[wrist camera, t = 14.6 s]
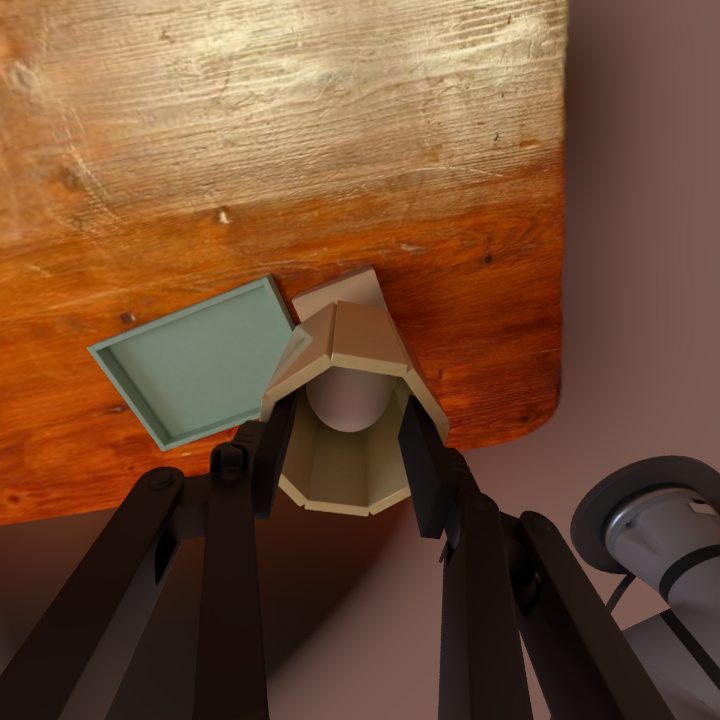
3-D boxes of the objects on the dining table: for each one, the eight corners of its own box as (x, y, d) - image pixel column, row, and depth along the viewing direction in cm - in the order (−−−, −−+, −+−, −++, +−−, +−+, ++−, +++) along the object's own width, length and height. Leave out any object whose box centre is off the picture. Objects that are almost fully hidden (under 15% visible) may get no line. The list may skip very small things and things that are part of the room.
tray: (271, 273, 33) (266, 276, 32) (323, 387, 38) (322, 395, 36) (99, 341, 35) (86, 347, 33) (170, 441, 40) (162, 451, 38)
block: (396, 337, 36) (401, 347, 34) (326, 362, 37) (325, 374, 34) (371, 264, 33) (373, 268, 31) (295, 293, 34) (291, 300, 32)
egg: (296, 351, 24) (277, 403, 17) (359, 310, 23) (365, 348, 16) (338, 406, 26) (336, 472, 19) (399, 370, 25) (419, 427, 18)
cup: (420, 313, 24) (468, 375, 15) (392, 415, 27) (417, 522, 18) (299, 290, 23) (266, 341, 14) (285, 399, 26) (250, 503, 17)
